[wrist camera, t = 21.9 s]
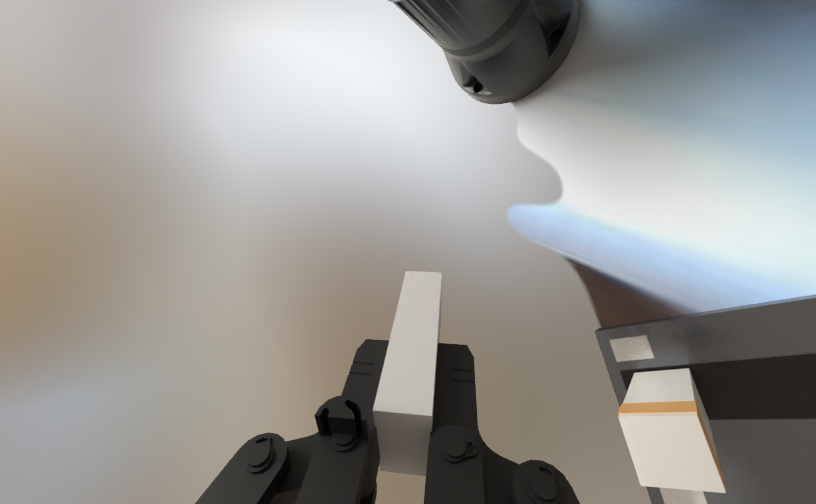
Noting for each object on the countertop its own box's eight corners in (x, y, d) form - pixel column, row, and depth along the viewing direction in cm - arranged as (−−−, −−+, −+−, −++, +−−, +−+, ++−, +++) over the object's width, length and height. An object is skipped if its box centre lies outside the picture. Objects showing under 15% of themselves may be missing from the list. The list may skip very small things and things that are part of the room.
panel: (598, 328, 35) (594, 331, 33) (966, 271, 22) (990, 271, 20) (681, 577, 30) (682, 595, 28) (1212, 689, 17) (1270, 733, 16)
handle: (633, 372, 31) (616, 415, 22) (689, 367, 28) (697, 414, 19) (650, 420, 30) (640, 486, 21) (709, 419, 27) (727, 494, 18)
